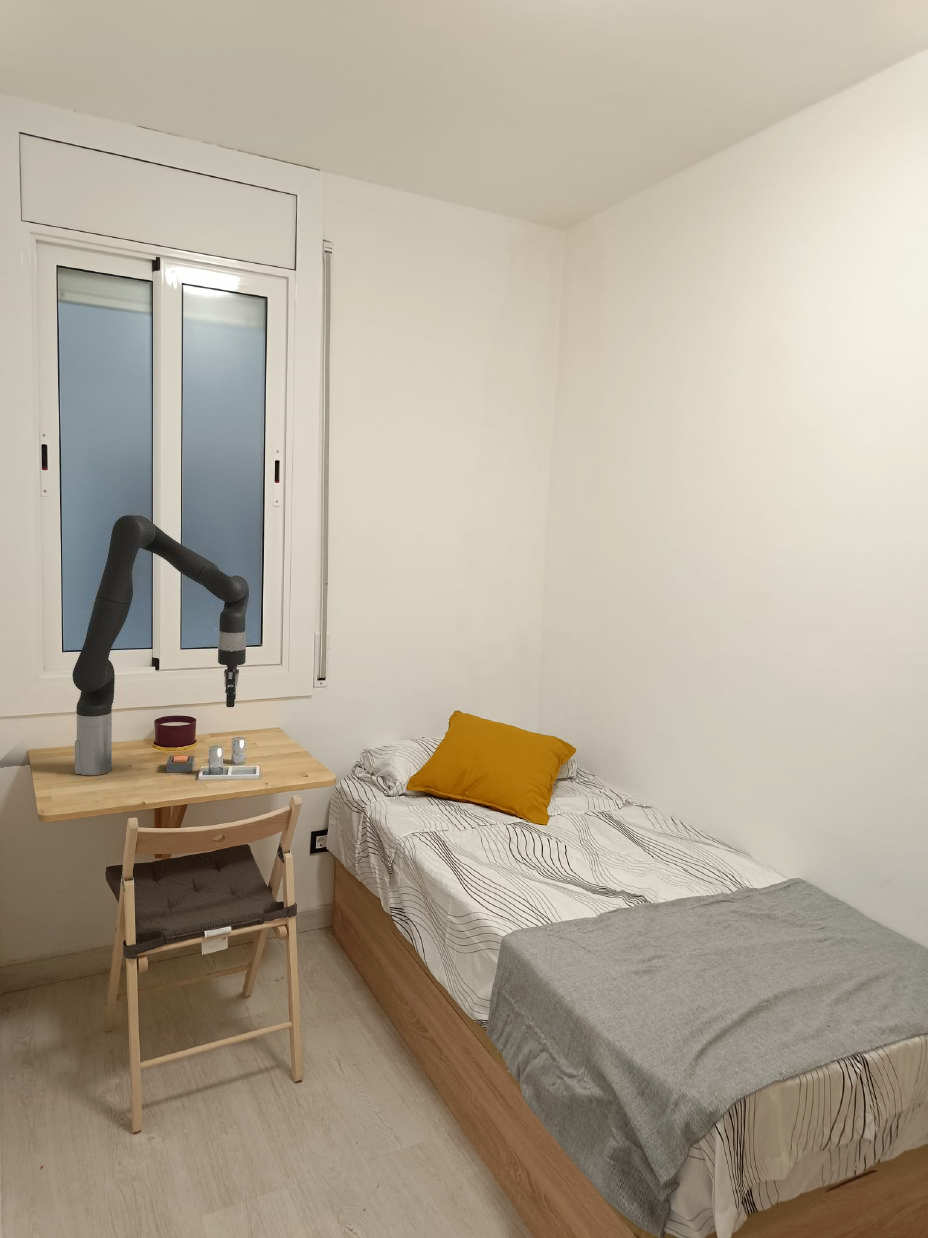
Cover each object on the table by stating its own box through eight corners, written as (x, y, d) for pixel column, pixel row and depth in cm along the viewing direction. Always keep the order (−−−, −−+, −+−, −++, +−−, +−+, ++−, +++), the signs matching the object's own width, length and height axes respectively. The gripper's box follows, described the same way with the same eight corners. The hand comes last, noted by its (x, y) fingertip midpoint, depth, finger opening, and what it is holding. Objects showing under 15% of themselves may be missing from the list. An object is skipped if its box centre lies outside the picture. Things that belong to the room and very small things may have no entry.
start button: (173, 768, 240) (173, 760, 240) (174, 764, 244) (174, 756, 243) (186, 768, 241) (186, 759, 241) (187, 764, 244) (187, 756, 244)
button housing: (166, 777, 238) (166, 763, 238) (169, 769, 245) (169, 756, 245) (192, 776, 240) (192, 763, 239) (194, 769, 247) (194, 756, 246)
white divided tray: (196, 784, 234) (196, 777, 234) (199, 773, 243) (199, 766, 243) (260, 783, 238) (260, 775, 237) (260, 772, 247) (261, 765, 247)
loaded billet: (207, 777, 237) (208, 749, 236) (208, 772, 241) (209, 745, 240) (222, 776, 238) (222, 749, 237) (223, 772, 242) (223, 745, 241)
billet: (231, 767, 249) (231, 740, 247) (231, 762, 252) (232, 737, 251) (244, 766, 249) (245, 740, 248) (245, 762, 253) (245, 737, 252)
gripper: (219, 642, 241) (218, 697, 243) (216, 651, 228) (215, 709, 230) (246, 643, 243) (245, 697, 245) (245, 651, 229) (243, 709, 231)
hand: (231, 703), depth 237 cm, fingers open, 8 cm apart
